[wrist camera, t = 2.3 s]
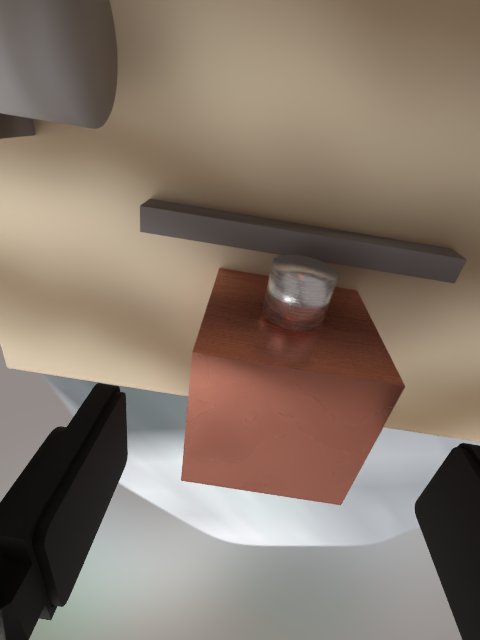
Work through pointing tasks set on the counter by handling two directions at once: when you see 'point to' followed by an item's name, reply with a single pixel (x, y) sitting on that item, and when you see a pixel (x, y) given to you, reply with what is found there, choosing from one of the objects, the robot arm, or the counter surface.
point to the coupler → (286, 384)
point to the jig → (240, 180)
